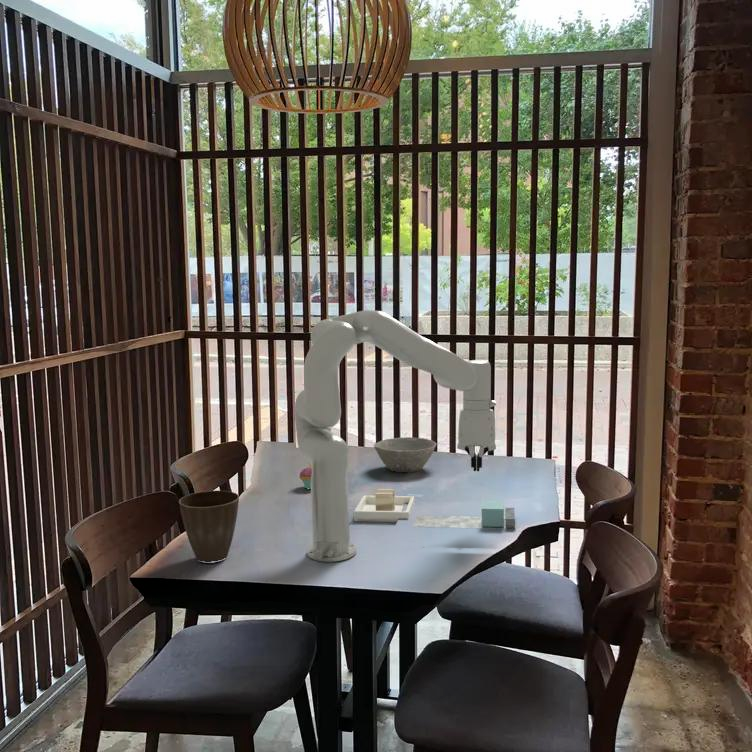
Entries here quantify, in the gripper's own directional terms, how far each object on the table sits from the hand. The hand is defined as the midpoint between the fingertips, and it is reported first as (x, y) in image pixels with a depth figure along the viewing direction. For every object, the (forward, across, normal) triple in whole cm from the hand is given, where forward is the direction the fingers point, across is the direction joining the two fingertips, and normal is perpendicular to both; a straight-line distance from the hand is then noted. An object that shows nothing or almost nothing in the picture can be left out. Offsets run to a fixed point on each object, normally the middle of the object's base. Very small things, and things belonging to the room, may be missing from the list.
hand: (476, 470), depth 208 cm
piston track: (+16, +3, 0) cm, 17 cm away
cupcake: (+17, +56, -36) cm, 69 cm away
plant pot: (+18, +66, +30) cm, 75 cm away
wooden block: (+16, +27, -10) cm, 33 cm away
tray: (+17, +27, -10) cm, 34 cm away
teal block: (+15, -5, 0) cm, 16 cm away
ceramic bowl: (+16, +27, -61) cm, 69 cm away
